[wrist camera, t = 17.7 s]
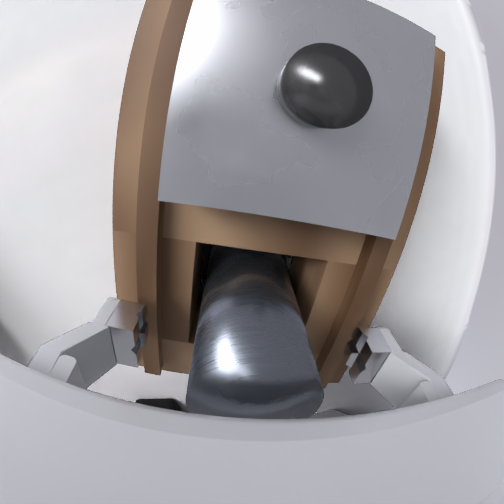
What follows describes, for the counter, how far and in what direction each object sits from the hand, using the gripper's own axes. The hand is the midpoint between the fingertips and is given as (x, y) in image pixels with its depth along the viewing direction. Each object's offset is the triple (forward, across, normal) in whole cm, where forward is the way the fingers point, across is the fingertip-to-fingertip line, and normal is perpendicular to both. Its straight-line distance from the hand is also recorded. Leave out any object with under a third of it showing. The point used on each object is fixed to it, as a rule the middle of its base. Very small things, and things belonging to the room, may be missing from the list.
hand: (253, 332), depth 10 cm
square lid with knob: (+2, 0, -8) cm, 8 cm away
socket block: (+7, 0, -4) cm, 8 cm away
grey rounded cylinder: (+7, 0, 0) cm, 7 cm away
